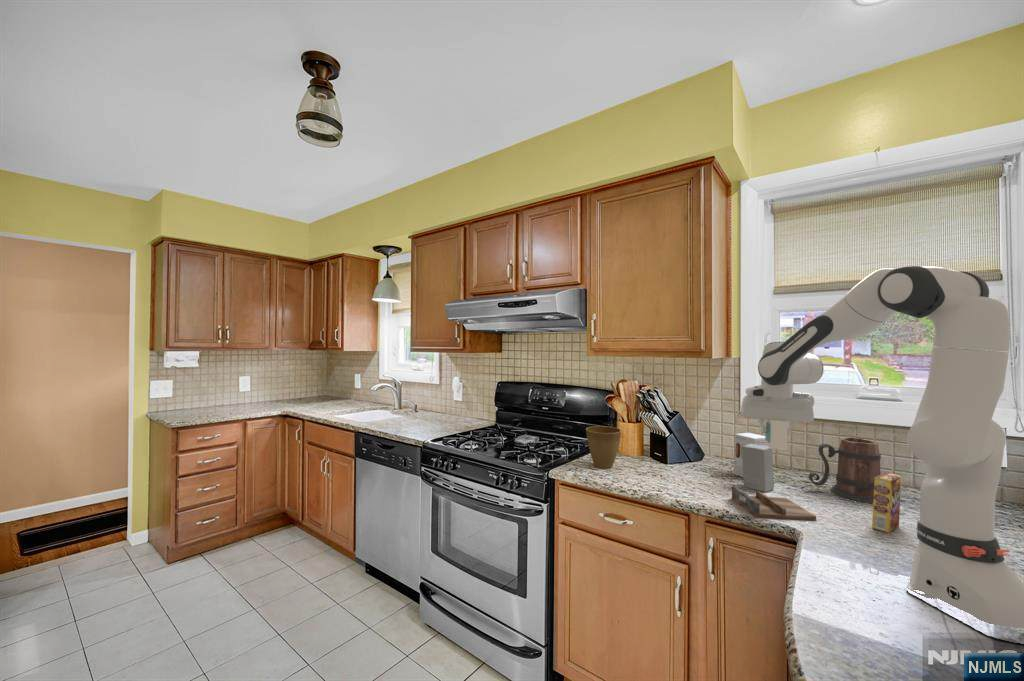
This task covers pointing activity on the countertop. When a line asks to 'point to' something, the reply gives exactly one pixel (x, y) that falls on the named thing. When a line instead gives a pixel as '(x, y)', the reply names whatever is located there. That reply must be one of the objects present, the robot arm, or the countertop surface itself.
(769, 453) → the skincare box
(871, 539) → the countertop surface
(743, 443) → the supplement box
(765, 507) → the shelf board
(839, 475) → the tankard
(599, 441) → the plant pot
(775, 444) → the cream carton
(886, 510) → the candy box
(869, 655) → the countertop surface
